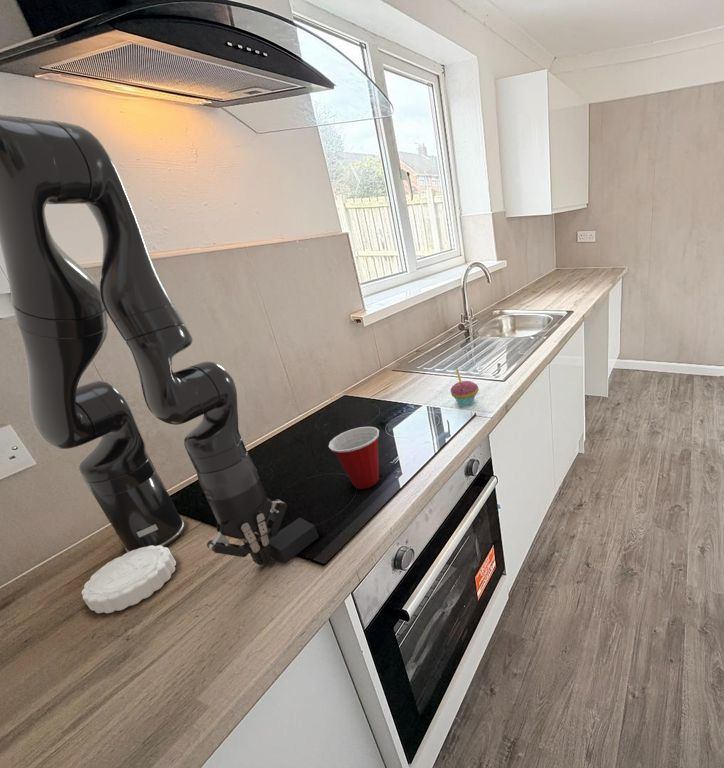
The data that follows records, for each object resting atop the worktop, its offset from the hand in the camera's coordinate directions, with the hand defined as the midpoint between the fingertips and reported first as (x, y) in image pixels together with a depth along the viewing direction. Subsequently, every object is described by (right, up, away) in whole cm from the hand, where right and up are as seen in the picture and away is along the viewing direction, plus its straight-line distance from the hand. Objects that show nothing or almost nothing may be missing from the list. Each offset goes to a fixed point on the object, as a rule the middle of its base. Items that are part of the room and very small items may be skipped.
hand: (265, 561), depth 74 cm
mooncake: (-22, -3, -1) cm, 23 cm away
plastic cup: (+10, +9, +22) cm, 26 cm away
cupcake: (+30, +26, +55) cm, 68 cm away
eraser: (+3, +1, +4) cm, 5 cm away
